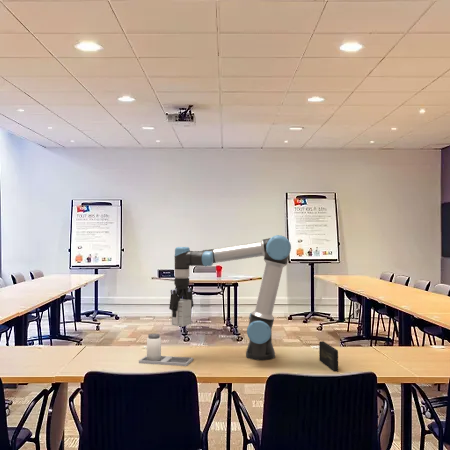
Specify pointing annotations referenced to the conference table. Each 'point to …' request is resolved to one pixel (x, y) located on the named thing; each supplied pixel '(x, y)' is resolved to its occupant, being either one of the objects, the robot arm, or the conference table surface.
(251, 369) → the conference table surface
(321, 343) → the nameplate
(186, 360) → the grey divided tray
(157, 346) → the bottle
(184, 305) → the supplement box
